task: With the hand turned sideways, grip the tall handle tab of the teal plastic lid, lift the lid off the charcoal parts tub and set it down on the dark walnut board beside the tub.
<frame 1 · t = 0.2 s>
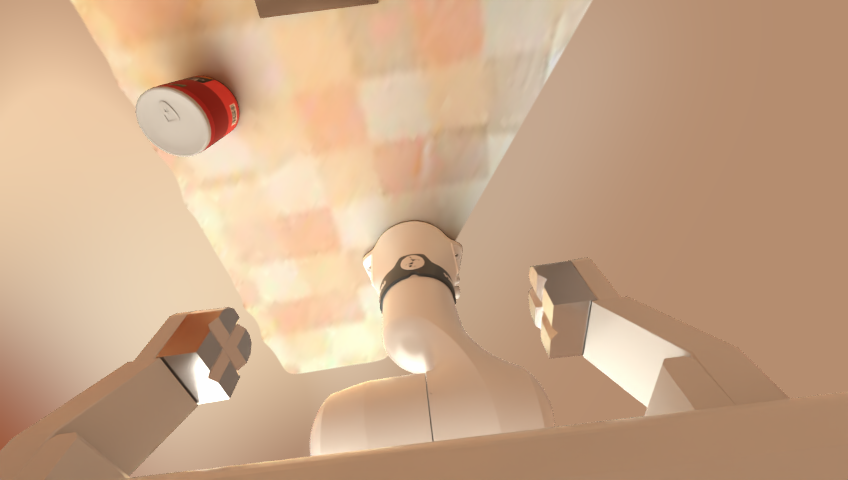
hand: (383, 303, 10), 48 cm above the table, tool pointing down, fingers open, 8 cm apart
canned food: (212, 105, 50), on the table
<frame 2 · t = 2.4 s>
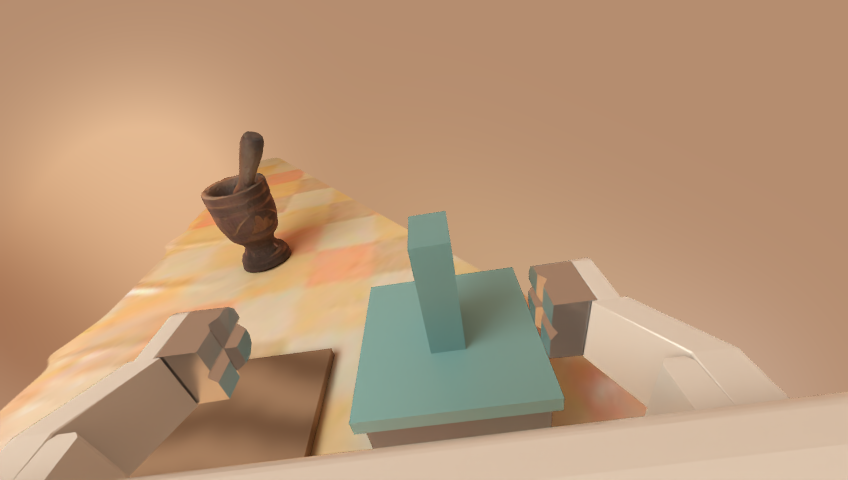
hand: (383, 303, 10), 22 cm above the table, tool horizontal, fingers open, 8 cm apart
lid: (449, 350, 28), point 6 cm above the table, touching tub
board: (236, 433, 31), on the table
mortar and pestle: (278, 258, 57), on the table
tub: (458, 396, 31), on the table
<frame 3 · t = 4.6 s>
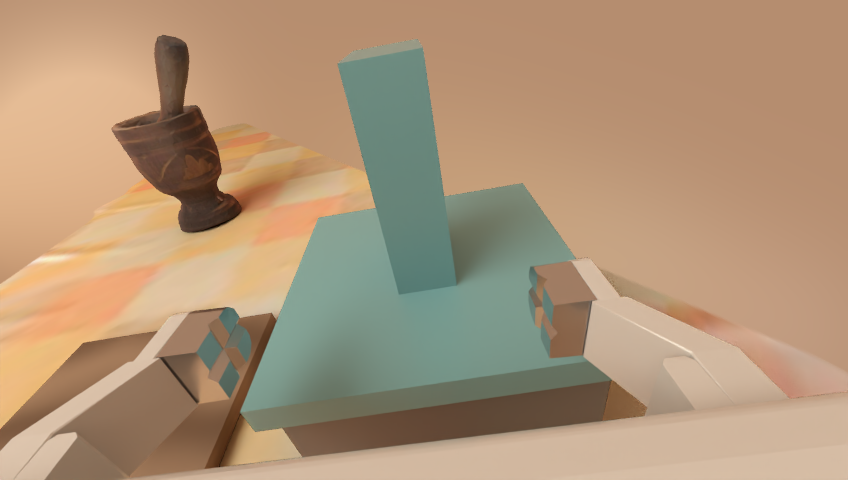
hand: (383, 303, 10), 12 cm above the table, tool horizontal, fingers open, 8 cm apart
lid: (431, 296, 18), point 6 cm above the table, touching tub
board: (118, 433, 21), on the table
mortar and pestle: (226, 217, 46), on the table
tub: (446, 370, 21), on the table
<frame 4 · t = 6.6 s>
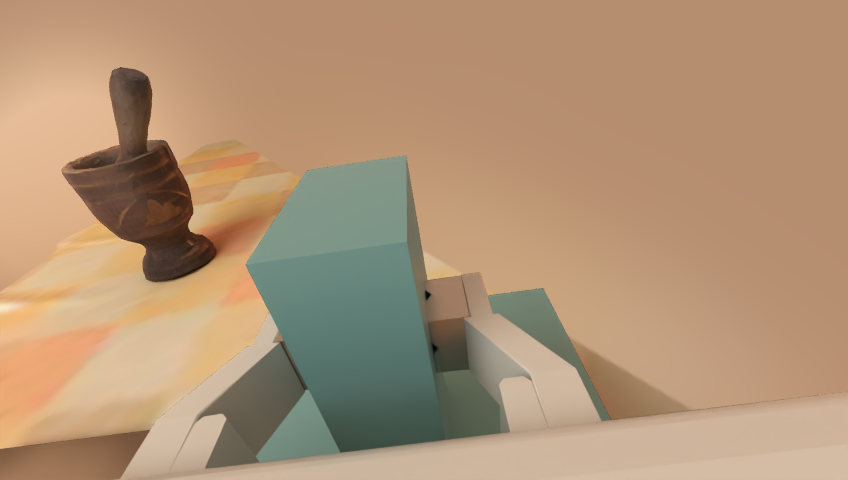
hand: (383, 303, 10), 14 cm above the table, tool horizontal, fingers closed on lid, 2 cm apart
lid: (422, 471, 13), point 6 cm above the table, touching gripper, tub
mortar and pestle: (197, 262, 41), on the table
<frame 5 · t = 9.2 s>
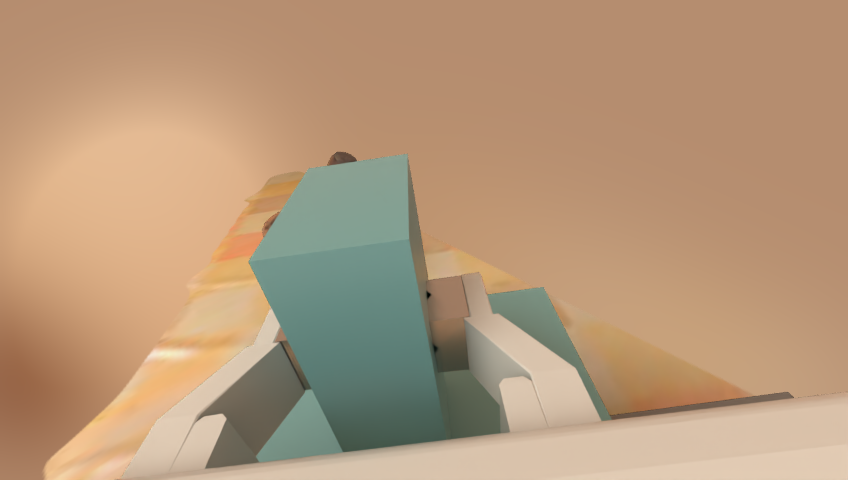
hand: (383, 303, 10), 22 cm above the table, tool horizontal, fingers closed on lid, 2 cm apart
lid: (422, 469, 13), point 15 cm above the table, touching gripper
mortar and pestle: (346, 309, 45), on the table
when the fingers open (10 cm above the table, at t = 12.1 s): lid drops 1 cm, resting on board.
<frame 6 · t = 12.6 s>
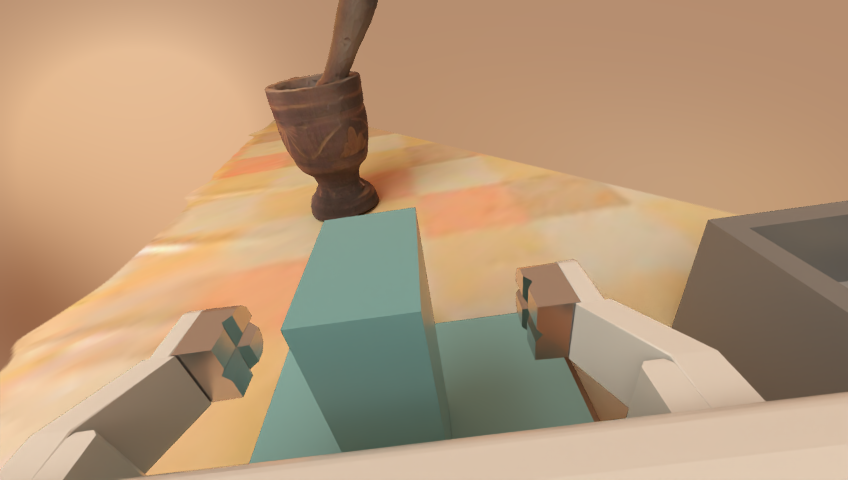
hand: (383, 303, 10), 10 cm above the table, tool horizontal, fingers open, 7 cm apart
mortar and pestle: (362, 206, 39), on the table
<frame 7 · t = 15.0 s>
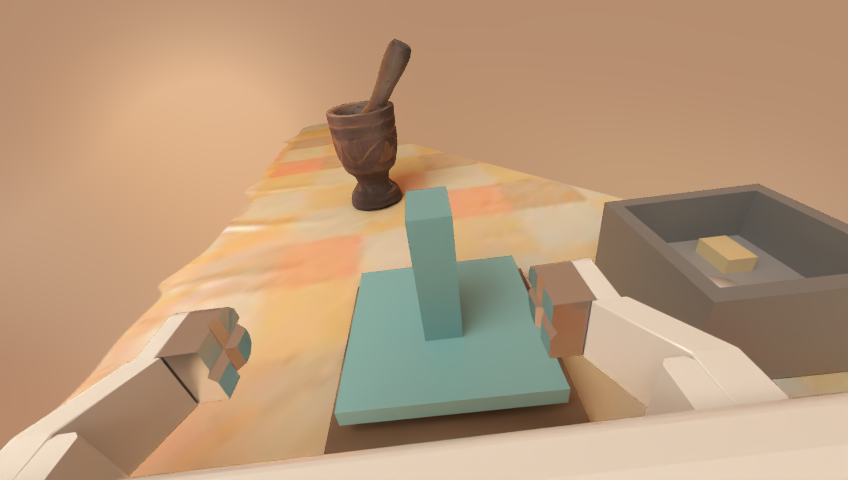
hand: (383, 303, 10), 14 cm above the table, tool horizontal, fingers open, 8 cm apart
lid: (444, 339, 26), point 1 cm above the table, touching board
board: (446, 349, 26), on the table
mortar and pestle: (389, 199, 52), on the table
tub: (709, 310, 27), on the table
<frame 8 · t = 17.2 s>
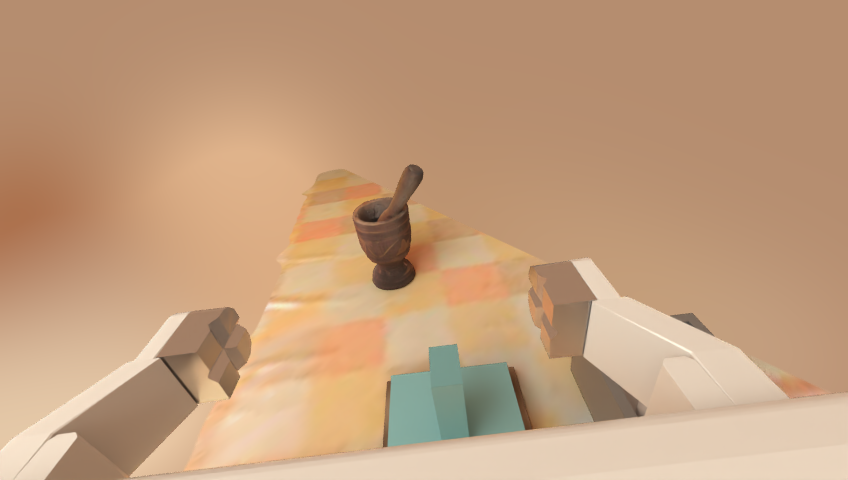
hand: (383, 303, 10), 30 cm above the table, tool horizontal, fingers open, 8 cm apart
lid: (456, 437, 35), point 1 cm above the table, touching board
board: (457, 443, 36), on the table
mortar and pestle: (404, 276, 61), on the table
tub: (653, 412, 36), on the table
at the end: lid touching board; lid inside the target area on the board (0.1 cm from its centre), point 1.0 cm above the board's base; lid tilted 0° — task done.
